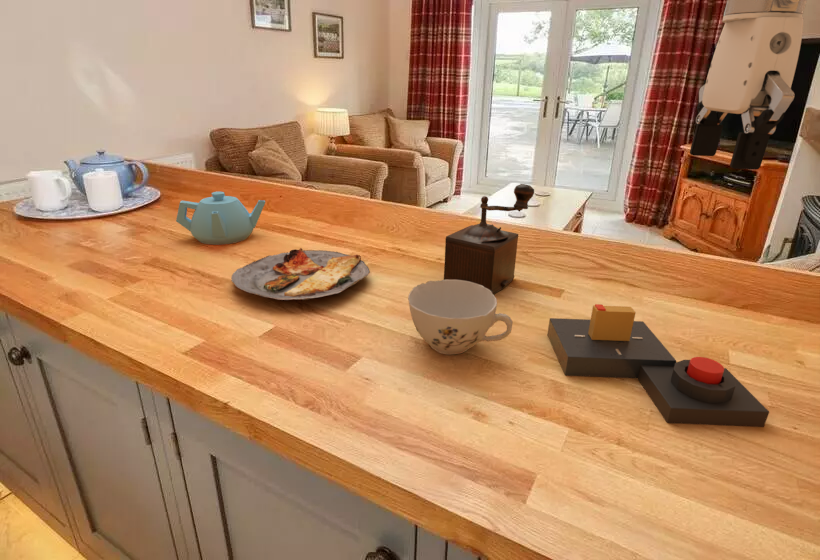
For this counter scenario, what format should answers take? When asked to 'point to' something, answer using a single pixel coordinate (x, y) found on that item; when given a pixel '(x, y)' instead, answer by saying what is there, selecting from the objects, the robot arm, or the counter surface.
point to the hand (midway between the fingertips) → (721, 161)
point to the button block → (700, 398)
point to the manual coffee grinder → (485, 248)
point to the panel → (605, 350)
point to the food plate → (300, 274)
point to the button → (705, 370)
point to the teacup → (455, 314)
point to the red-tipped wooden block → (611, 323)
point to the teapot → (219, 219)
